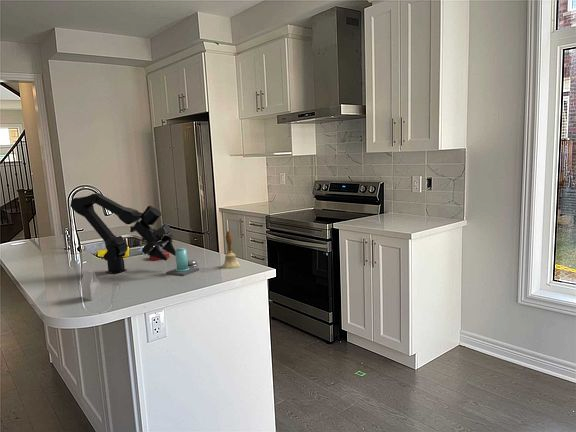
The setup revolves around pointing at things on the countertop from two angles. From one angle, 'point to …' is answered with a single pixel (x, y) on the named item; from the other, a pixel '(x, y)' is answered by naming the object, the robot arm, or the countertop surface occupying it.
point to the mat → (174, 272)
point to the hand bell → (230, 254)
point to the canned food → (158, 258)
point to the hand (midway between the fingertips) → (171, 257)
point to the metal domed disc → (192, 263)
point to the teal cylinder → (181, 260)
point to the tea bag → (90, 286)
